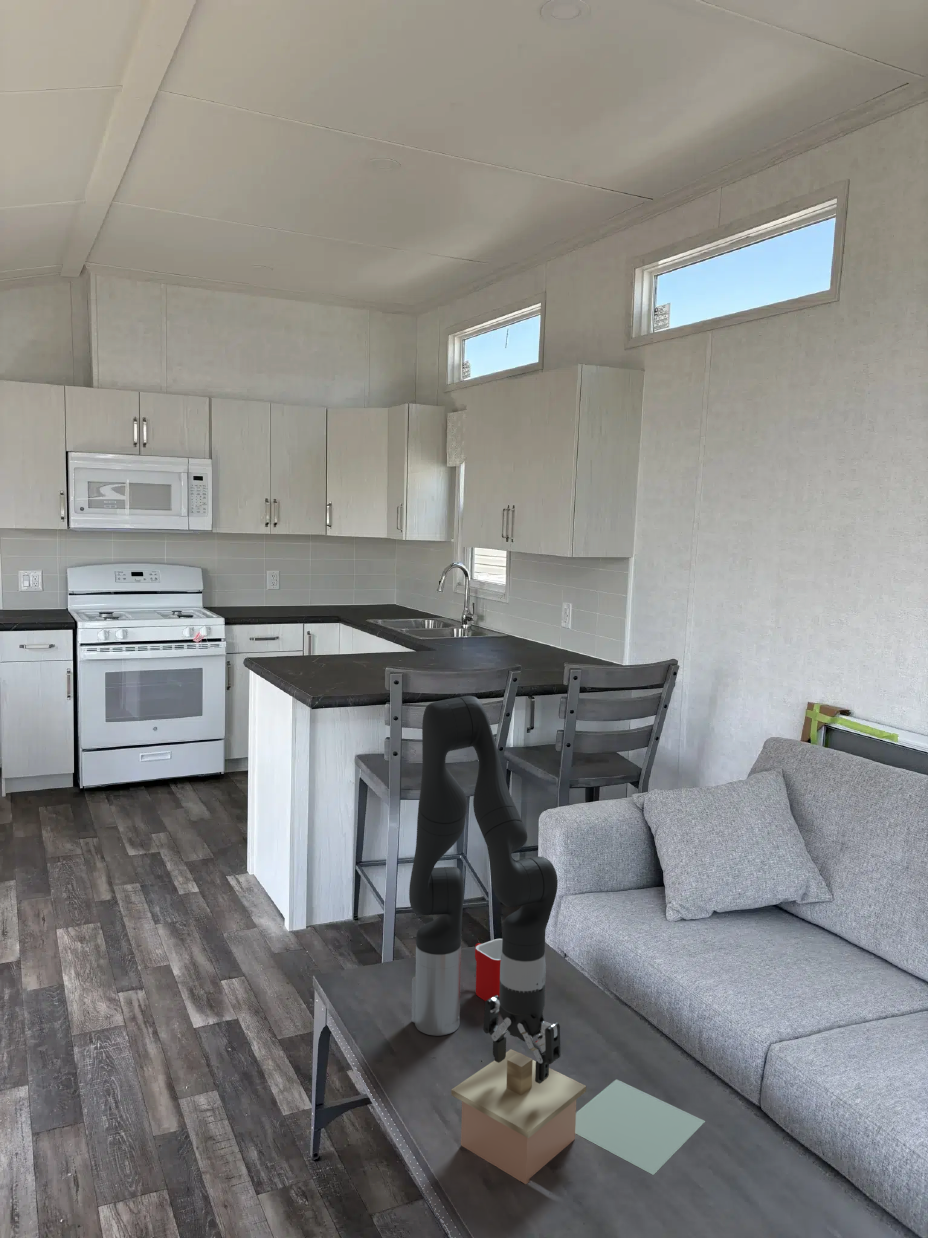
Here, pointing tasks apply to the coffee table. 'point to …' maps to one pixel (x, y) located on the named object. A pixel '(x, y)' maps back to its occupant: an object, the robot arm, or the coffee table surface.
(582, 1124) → the mat
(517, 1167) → the pink box
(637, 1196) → the coffee table surface
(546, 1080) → the lid
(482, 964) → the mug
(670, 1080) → the coffee table surface
